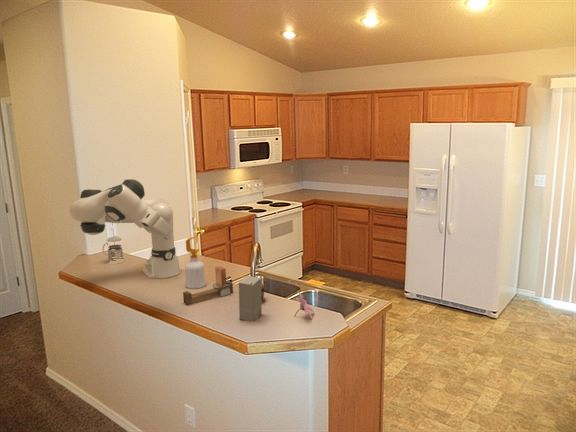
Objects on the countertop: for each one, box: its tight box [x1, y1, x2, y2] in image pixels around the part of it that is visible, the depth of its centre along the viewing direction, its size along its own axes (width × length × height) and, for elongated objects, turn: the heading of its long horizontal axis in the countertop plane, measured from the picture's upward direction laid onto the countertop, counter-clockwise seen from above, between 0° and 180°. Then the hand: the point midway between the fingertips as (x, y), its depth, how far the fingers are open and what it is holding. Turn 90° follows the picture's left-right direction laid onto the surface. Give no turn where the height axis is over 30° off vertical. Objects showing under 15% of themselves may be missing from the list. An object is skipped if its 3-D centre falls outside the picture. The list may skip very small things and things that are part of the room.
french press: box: [102, 223, 124, 261], centre depth 266 cm, size 10×12×25 cm
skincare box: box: [238, 275, 263, 322], centre depth 183 cm, size 8×7×16 cm
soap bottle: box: [184, 235, 206, 289], centre depth 221 cm, size 9×9×25 cm
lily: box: [293, 290, 316, 319], centre depth 182 cm, size 12×12×10 cm
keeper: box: [212, 266, 231, 298], centre depth 210 cm, size 7×5×12 cm
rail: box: [182, 280, 234, 306], centre depth 206 cm, size 4×23×5 cm, turn 129°
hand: (169, 238), depth 192 cm, fingers closed
